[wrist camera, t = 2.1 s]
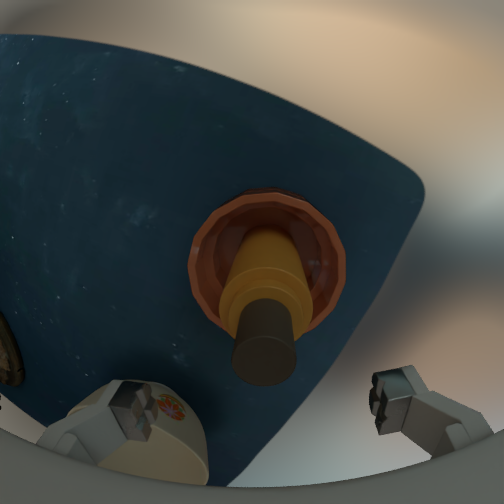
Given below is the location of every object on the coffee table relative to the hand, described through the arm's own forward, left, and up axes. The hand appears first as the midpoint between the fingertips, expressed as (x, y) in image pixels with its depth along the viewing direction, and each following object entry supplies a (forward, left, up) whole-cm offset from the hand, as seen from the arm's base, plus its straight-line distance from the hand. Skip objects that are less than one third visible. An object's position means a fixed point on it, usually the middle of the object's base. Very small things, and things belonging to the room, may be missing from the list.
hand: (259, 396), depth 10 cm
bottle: (0, 0, -17) cm, 17 cm away
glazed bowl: (0, 0, -18) cm, 18 cm away
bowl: (+18, -15, -18) cm, 29 cm away
